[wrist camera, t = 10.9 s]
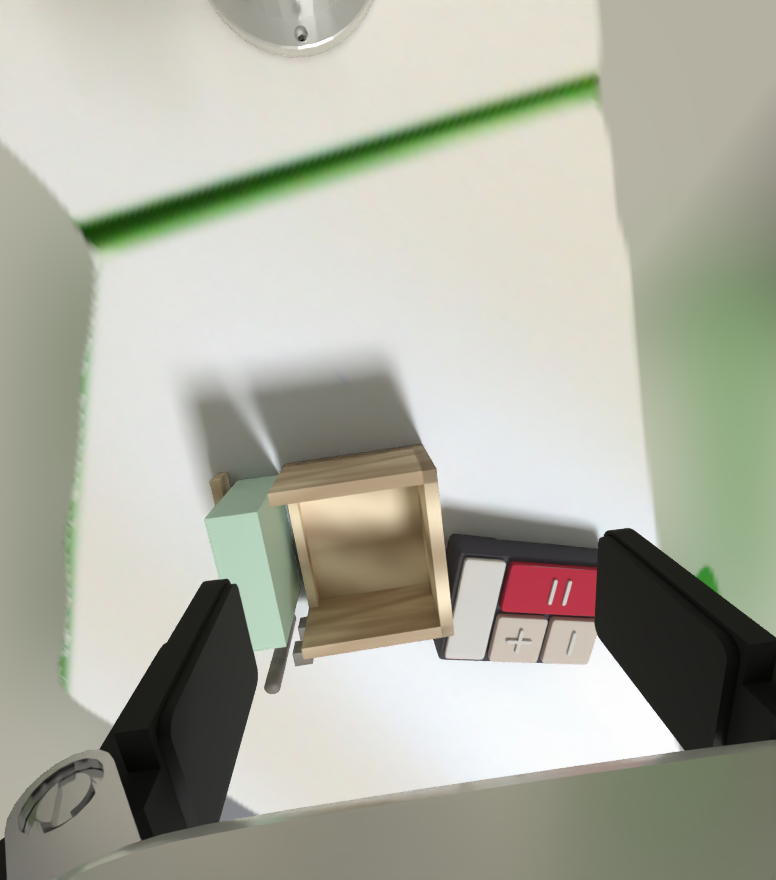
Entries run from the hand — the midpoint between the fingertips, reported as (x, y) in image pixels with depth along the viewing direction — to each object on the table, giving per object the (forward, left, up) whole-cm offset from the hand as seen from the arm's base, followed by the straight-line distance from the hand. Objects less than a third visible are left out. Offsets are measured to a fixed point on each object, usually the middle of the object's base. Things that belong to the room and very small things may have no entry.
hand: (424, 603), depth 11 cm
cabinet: (+11, -6, -26) cm, 28 cm away
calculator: (+19, +11, -26) cm, 34 cm away
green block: (+9, -11, -26) cm, 29 cm away
